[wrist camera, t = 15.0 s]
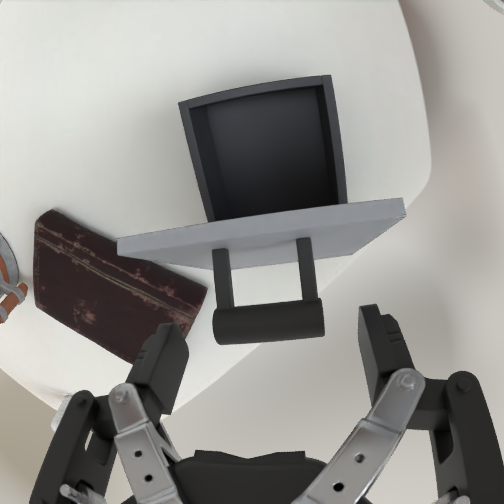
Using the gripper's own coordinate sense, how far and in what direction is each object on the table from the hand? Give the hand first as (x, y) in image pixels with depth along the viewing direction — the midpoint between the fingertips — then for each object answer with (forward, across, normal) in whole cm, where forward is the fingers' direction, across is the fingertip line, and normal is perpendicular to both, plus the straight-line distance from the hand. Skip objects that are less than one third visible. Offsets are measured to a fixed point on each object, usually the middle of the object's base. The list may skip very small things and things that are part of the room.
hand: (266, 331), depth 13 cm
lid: (+8, 0, 0) cm, 8 cm away
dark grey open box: (+22, 0, -3) cm, 22 cm away
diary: (+22, +26, +11) cm, 36 cm away
